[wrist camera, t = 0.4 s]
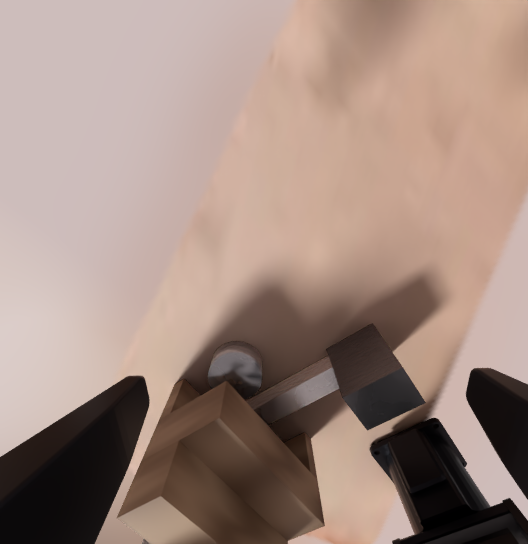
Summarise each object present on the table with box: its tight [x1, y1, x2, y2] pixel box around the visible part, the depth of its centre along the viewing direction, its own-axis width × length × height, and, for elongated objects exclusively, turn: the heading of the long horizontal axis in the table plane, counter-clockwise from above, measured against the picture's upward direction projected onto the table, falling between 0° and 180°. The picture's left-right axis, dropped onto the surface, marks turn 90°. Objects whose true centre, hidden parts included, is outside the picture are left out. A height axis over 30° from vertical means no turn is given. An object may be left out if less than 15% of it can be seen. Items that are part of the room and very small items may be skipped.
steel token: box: [208, 341, 262, 399], centre depth 22 cm, size 4×4×2 cm
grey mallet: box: [246, 323, 426, 430], centre depth 20 cm, size 3×12×5 cm, turn 125°
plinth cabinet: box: [117, 379, 325, 544], centre depth 20 cm, size 12×6×10 cm, turn 35°
